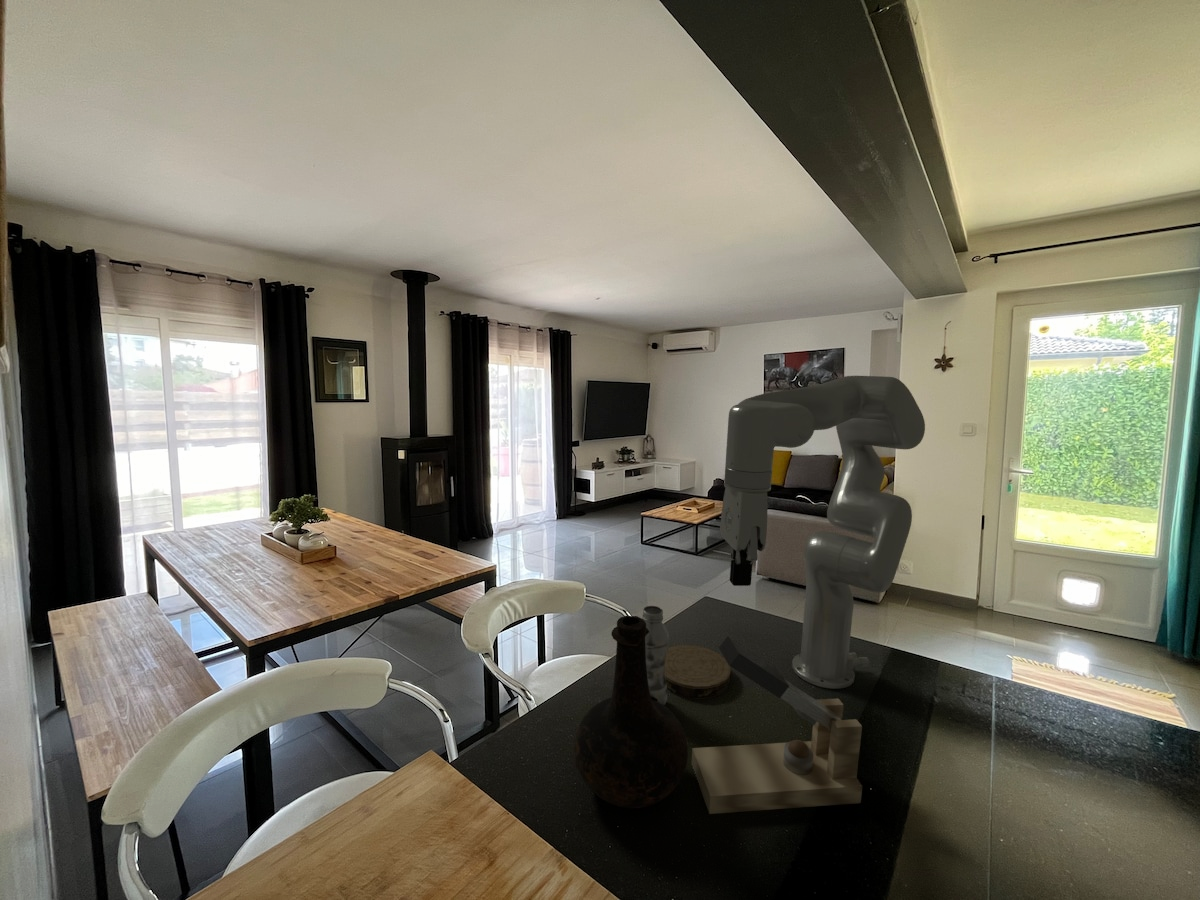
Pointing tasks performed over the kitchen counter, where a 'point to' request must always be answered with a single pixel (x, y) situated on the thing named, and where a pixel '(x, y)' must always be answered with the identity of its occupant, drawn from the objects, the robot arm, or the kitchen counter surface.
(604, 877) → the kitchen counter surface
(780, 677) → the lever
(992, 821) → the kitchen counter surface
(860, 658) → the robot arm
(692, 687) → the brown round flat disc
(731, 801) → the nutcracker base
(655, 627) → the plastic bottle
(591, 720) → the glass bottle
